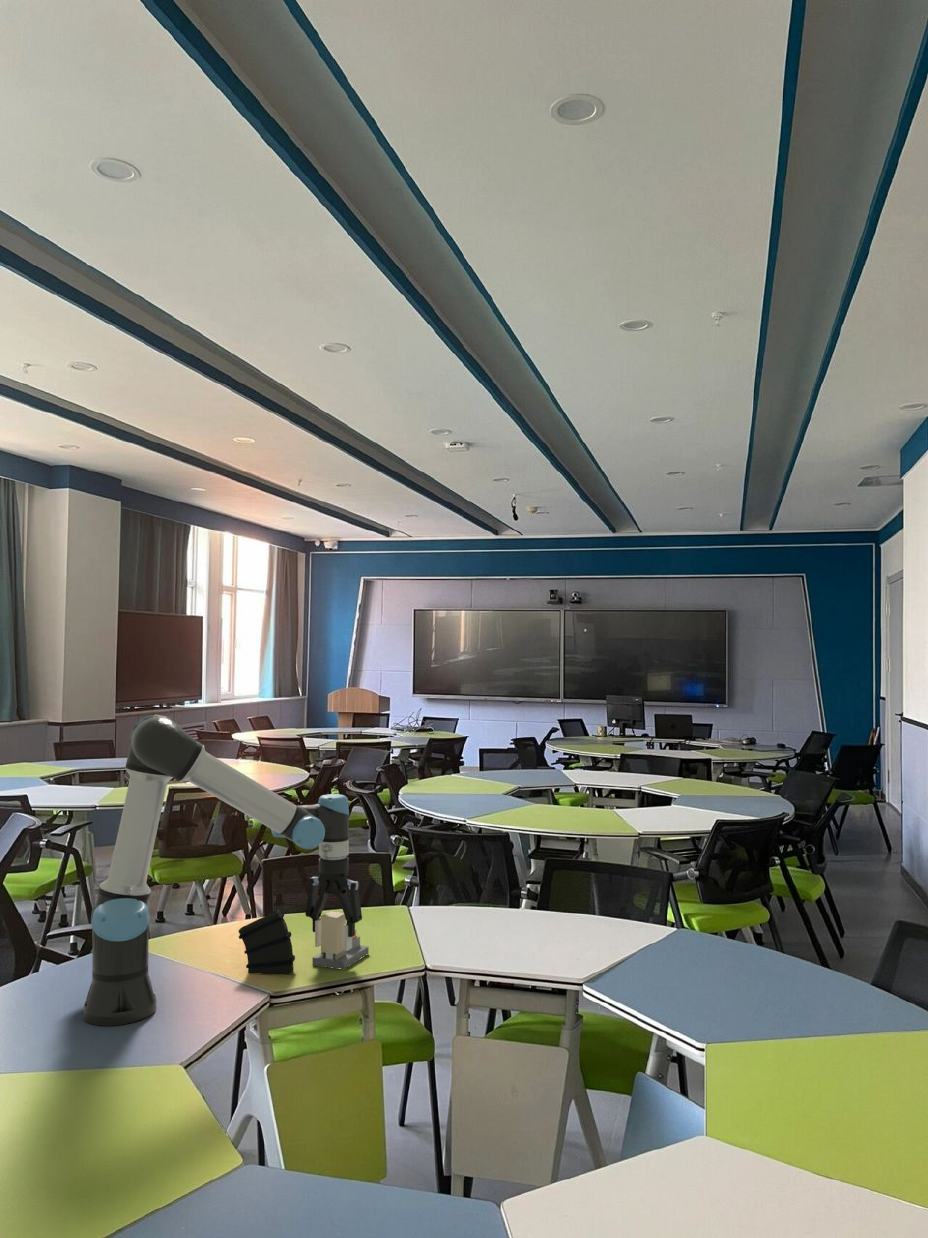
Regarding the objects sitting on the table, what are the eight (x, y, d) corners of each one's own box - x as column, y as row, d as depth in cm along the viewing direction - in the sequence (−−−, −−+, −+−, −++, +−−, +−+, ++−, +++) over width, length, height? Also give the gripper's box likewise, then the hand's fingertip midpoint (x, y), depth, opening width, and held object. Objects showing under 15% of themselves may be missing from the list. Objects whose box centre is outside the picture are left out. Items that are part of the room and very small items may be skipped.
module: (321, 957, 240) (321, 916, 240) (329, 952, 244) (330, 911, 244) (337, 959, 238) (337, 917, 238) (345, 954, 242) (345, 913, 242)
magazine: (304, 968, 233) (278, 912, 234) (255, 991, 233) (229, 935, 234) (307, 963, 237) (281, 908, 237) (259, 985, 237) (233, 931, 237)
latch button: (340, 943, 247) (340, 931, 247) (346, 939, 250) (346, 928, 250) (350, 944, 246) (350, 932, 246) (356, 941, 249) (356, 929, 249)
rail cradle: (312, 965, 240) (312, 947, 240) (338, 950, 252) (338, 933, 252) (343, 970, 237) (343, 951, 237) (368, 954, 249) (368, 936, 249)
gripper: (290, 856, 242) (290, 947, 241) (362, 863, 234) (362, 957, 234) (306, 850, 249) (306, 938, 248) (376, 857, 241) (376, 948, 240)
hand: (333, 947), depth 241 cm, fingers open, 8 cm apart
